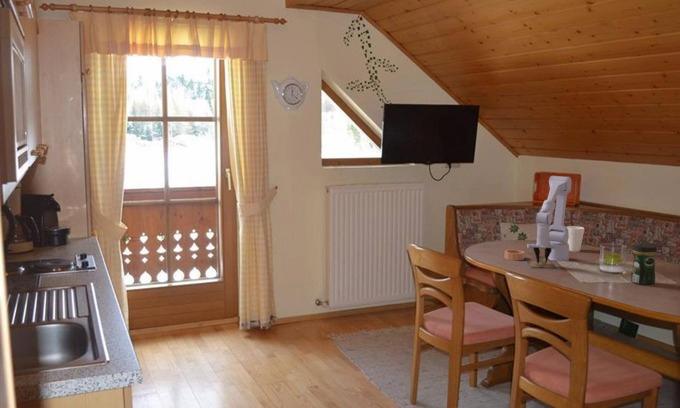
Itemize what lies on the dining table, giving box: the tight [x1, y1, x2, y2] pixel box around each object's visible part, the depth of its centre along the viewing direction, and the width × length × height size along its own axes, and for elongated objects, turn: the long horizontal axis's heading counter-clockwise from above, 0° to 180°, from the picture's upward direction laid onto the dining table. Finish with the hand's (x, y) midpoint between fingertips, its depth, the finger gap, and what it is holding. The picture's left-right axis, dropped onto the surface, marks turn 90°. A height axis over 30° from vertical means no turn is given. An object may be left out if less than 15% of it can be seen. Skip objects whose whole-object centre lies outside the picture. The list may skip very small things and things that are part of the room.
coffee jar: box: [630, 242, 658, 286], centre depth 286 cm, size 10×8×19 cm
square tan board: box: [526, 255, 557, 269], centre depth 316 cm, size 12×12×4 cm
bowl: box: [504, 249, 525, 261], centre depth 332 cm, size 10×10×4 cm
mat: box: [521, 260, 562, 271], centre depth 316 cm, size 16×16×1 cm
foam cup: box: [566, 225, 585, 253], centre depth 354 cm, size 10×9×13 cm
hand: (541, 262), depth 316 cm, fingers closed on square tan board, 3 cm apart
